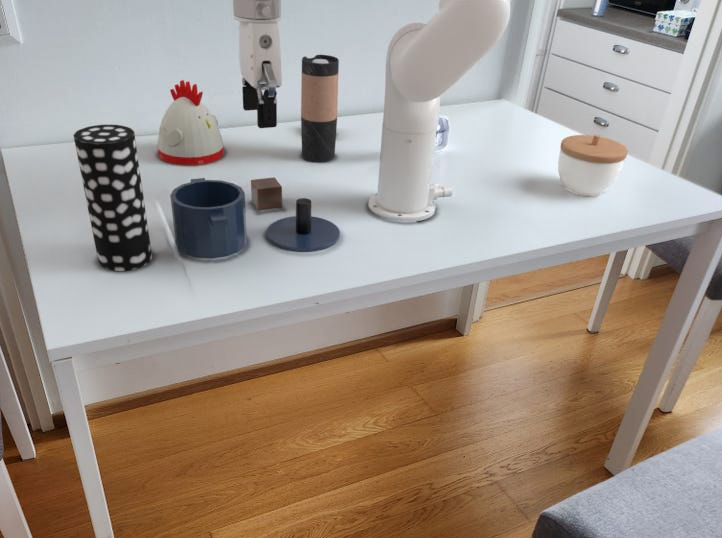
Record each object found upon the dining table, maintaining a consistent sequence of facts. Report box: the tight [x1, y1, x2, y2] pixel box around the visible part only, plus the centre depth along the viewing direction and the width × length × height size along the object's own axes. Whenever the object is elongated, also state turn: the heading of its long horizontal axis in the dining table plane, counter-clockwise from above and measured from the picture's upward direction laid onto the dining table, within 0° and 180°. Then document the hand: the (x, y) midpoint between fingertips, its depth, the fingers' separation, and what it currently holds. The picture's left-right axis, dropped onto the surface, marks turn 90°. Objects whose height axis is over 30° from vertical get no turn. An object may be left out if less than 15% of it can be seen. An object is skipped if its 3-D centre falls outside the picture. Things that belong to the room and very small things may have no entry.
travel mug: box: [300, 54, 340, 163], centre depth 142 cm, size 8×8×20 cm
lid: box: [266, 197, 341, 253], centre depth 114 cm, size 12×12×7 cm
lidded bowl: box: [557, 134, 629, 197], centre depth 135 cm, size 13×13×11 cm
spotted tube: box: [73, 124, 153, 272], centre depth 102 cm, size 8×8×20 cm
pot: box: [169, 177, 248, 259], centre depth 111 cm, size 12×17×9 cm
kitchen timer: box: [157, 79, 225, 166], centre depth 142 cm, size 14×14×15 cm
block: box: [250, 177, 283, 211], centre depth 125 cm, size 5×5×5 cm
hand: (259, 118), depth 117 cm, fingers open, 9 cm apart
